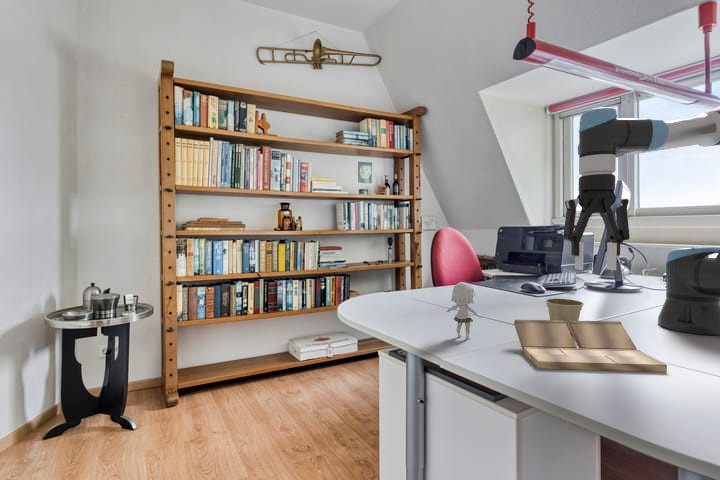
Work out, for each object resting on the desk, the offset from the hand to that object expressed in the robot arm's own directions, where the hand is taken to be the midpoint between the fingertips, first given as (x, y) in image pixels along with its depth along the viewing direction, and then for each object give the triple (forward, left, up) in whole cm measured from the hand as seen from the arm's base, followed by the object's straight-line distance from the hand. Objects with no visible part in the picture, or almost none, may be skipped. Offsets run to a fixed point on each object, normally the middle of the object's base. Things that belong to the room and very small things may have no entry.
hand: (595, 269), depth 91 cm
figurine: (+31, -4, -19) cm, 37 cm away
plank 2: (0, +3, -16) cm, 16 cm away
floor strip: (+7, +12, -19) cm, 23 cm away
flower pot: (+2, -12, -19) cm, 23 cm away
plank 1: (+13, +3, -16) cm, 21 cm away
